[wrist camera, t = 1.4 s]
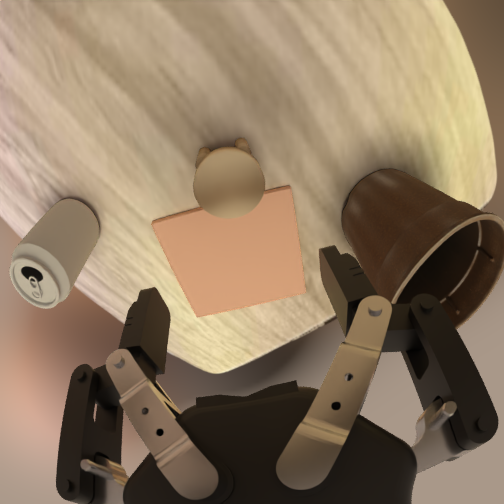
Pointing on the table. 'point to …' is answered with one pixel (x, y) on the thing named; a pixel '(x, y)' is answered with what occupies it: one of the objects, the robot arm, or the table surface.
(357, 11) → the table surface
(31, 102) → the table surface
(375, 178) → the plant pot
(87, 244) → the can
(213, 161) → the stool
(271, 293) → the mat
